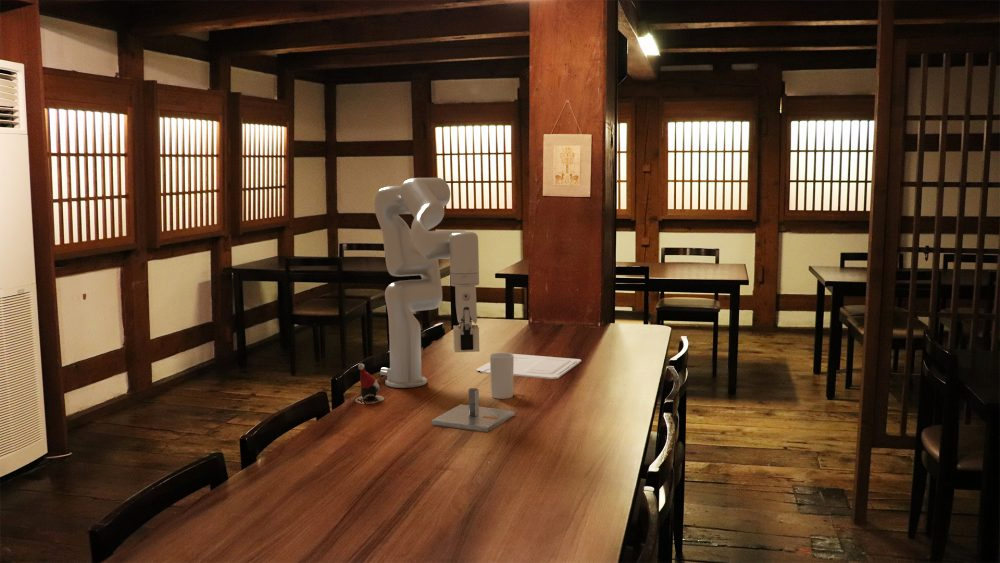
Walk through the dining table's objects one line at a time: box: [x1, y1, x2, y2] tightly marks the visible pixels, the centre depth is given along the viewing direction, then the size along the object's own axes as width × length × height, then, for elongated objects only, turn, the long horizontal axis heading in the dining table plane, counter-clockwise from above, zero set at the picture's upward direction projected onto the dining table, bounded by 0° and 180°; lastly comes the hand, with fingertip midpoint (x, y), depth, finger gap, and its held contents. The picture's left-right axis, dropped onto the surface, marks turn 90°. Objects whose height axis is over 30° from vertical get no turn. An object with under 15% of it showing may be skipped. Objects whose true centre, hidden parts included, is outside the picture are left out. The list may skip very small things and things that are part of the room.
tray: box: [475, 353, 582, 380], centre depth 283 cm, size 28×28×2 cm
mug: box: [489, 352, 514, 400], centre depth 247 cm, size 10×7×12 cm, turn 158°
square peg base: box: [431, 387, 515, 433], centre depth 222 cm, size 16×16×8 cm
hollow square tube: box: [452, 324, 480, 353], centre depth 224 cm, size 6×6×6 cm
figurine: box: [354, 363, 385, 405], centre depth 242 cm, size 8×10×12 cm
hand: (466, 346), depth 224 cm, fingers closed on hollow square tube, 6 cm apart
